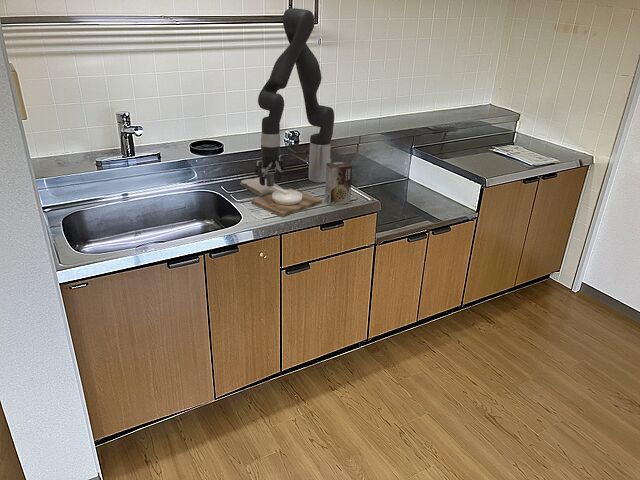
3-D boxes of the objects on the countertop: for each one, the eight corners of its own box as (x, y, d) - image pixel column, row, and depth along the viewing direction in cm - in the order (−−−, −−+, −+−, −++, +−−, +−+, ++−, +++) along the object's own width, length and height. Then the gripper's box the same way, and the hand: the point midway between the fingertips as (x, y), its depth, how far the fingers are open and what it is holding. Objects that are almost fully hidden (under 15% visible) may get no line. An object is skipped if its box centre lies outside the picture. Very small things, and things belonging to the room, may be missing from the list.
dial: (308, 200, 209) (309, 180, 206) (286, 207, 201) (287, 187, 198) (278, 188, 220) (278, 169, 216) (256, 195, 211) (256, 175, 208)
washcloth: (261, 181, 234) (261, 174, 233) (284, 193, 222) (284, 186, 220) (238, 185, 227) (238, 179, 226) (260, 198, 215) (260, 191, 213)
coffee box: (344, 198, 218) (346, 161, 211) (350, 203, 213) (353, 165, 206) (323, 200, 215) (326, 162, 208) (329, 205, 210) (332, 167, 203)
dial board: (290, 191, 222) (290, 187, 222) (321, 203, 212) (322, 199, 211) (251, 203, 207) (251, 199, 207) (283, 217, 197) (283, 213, 196)
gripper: (277, 139, 213) (276, 177, 220) (250, 144, 203) (250, 184, 210) (290, 142, 209) (289, 181, 215) (263, 148, 199) (263, 189, 206)
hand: (270, 182), depth 213 cm, fingers open, 8 cm apart
